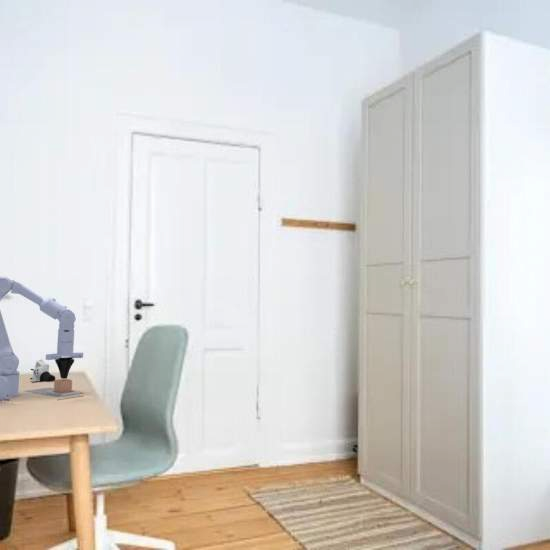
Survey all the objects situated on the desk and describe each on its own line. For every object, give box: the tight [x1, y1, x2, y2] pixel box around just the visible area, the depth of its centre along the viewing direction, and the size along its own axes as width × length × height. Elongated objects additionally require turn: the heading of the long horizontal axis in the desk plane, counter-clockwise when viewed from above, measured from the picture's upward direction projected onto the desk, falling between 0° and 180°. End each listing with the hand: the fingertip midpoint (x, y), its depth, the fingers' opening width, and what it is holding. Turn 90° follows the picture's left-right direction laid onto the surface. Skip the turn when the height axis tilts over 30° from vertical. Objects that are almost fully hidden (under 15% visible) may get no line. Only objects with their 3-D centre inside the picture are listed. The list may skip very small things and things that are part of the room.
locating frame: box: [46, 389, 81, 397], centre depth 211 cm, size 8×8×1 cm
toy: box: [29, 359, 56, 383], centre depth 245 cm, size 6×12×15 cm
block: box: [53, 378, 73, 393], centre depth 211 cm, size 4×4×5 cm
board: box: [24, 387, 83, 401], centre depth 214 cm, size 20×12×1 cm, turn 59°
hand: (63, 378), depth 211 cm, fingers closed
